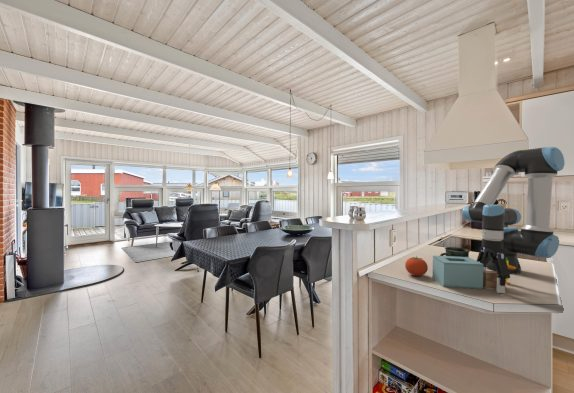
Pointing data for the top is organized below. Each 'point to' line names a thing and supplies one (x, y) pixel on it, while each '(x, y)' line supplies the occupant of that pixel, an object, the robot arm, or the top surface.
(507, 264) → the toy figure
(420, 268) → the tomato
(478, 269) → the coin box
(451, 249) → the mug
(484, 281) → the brown wooden block
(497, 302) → the top surface
